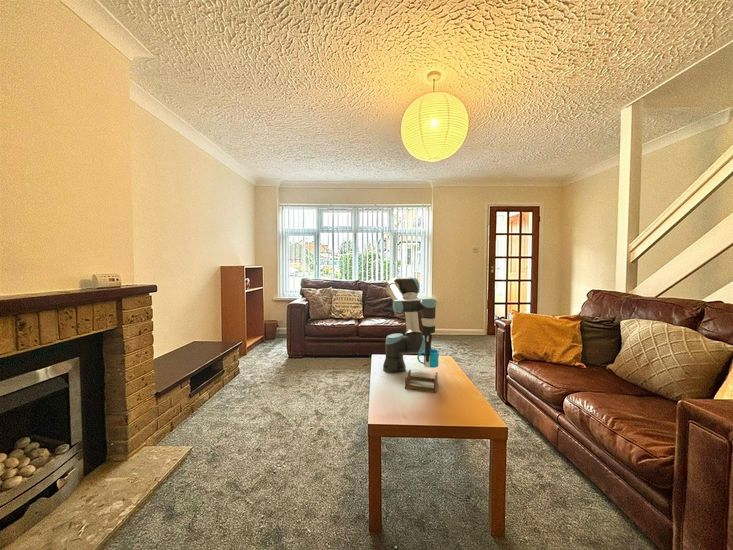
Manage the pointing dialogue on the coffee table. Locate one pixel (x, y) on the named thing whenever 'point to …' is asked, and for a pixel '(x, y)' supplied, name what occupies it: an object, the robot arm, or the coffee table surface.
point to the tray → (420, 383)
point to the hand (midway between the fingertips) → (427, 364)
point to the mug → (431, 358)
